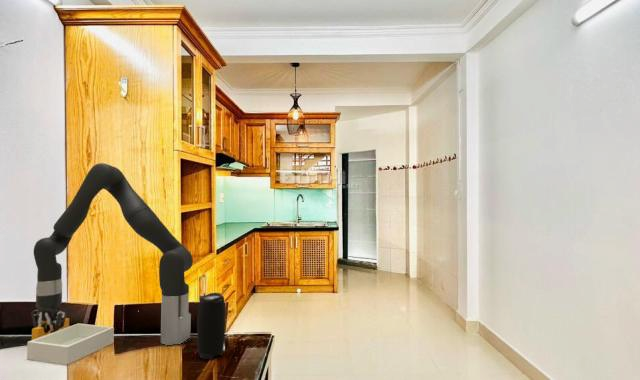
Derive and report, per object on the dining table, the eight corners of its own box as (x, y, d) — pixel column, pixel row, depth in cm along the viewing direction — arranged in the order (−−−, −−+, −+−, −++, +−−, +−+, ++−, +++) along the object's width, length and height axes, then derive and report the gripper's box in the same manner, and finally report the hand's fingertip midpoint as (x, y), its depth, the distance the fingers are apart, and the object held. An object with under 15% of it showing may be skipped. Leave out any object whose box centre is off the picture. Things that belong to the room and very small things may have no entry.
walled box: (113, 342, 128) (113, 327, 128) (66, 365, 110) (67, 347, 110) (77, 338, 132) (78, 323, 132) (26, 359, 114) (27, 341, 114)
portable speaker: (192, 360, 114) (193, 299, 114) (203, 348, 123) (204, 291, 124) (219, 361, 113) (220, 299, 114) (227, 349, 123) (228, 292, 123)
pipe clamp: (59, 334, 135) (59, 317, 135) (68, 335, 134) (69, 318, 134) (27, 347, 123) (27, 328, 124) (37, 348, 123) (38, 329, 123)
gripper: (74, 290, 131) (73, 337, 131) (44, 288, 135) (43, 334, 134) (55, 296, 124) (54, 345, 123) (23, 293, 127) (22, 342, 127)
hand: (48, 339), depth 129 cm, fingers closed on pipe clamp, 4 cm apart
